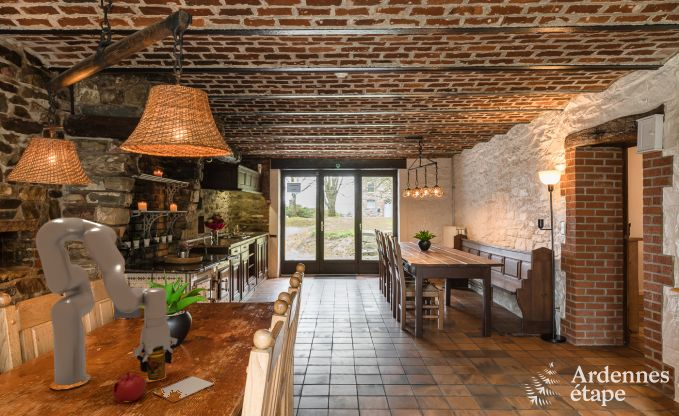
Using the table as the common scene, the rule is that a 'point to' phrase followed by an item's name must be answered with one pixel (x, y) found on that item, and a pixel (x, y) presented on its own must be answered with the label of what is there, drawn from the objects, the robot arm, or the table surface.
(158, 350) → the condiment
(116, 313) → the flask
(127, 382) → the pomegranate
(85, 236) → the robot arm
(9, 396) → the table surface
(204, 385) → the mat
